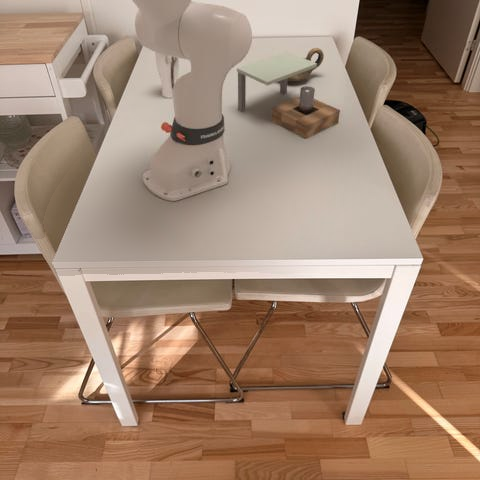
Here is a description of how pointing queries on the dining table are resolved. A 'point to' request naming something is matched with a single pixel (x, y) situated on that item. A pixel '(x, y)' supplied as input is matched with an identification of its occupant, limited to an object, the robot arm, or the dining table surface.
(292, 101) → the socket plate
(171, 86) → the cream rounded piece
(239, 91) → the pale green platform
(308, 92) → the peg
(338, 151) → the dining table surface
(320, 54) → the brown rounded scoop
